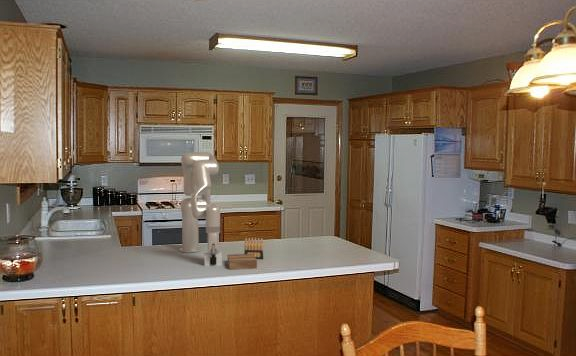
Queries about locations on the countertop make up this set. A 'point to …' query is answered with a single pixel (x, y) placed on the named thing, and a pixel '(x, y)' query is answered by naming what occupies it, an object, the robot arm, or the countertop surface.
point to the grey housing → (218, 259)
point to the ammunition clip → (254, 248)
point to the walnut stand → (242, 261)
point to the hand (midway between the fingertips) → (213, 262)
